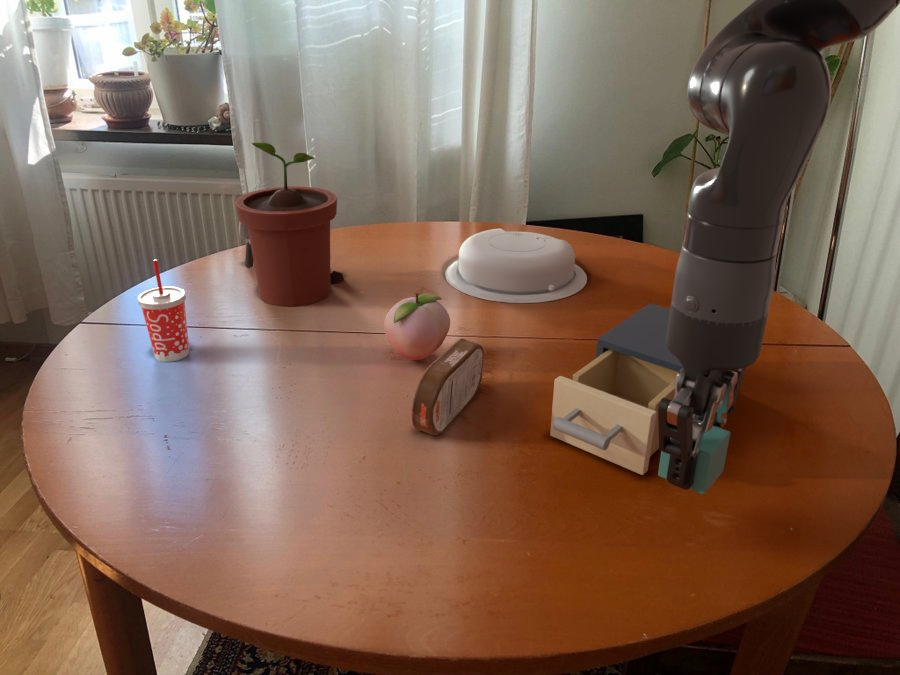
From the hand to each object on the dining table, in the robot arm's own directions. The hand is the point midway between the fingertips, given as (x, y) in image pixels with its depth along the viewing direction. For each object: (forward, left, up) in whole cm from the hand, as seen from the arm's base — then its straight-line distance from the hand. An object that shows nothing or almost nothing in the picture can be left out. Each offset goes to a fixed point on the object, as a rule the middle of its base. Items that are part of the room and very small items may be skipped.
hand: (691, 470), depth 68 cm
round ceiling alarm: (+51, -45, -7) cm, 68 cm away
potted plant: (+77, -16, -7) cm, 79 cm away
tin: (+30, -2, -7) cm, 31 cm away
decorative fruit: (+43, -10, -7) cm, 45 cm away
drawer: (+12, -9, -6) cm, 16 cm away
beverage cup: (+70, +11, -7) cm, 71 cm away
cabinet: (+12, -22, -7) cm, 26 cm away
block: (0, 0, 0) cm, 0 cm away
